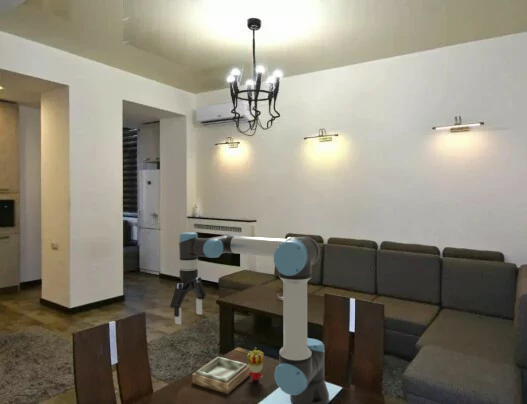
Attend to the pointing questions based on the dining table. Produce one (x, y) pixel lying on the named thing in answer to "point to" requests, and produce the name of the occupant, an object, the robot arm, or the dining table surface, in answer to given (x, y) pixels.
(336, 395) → the dining table surface
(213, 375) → the square wooden tray
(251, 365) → the toy
